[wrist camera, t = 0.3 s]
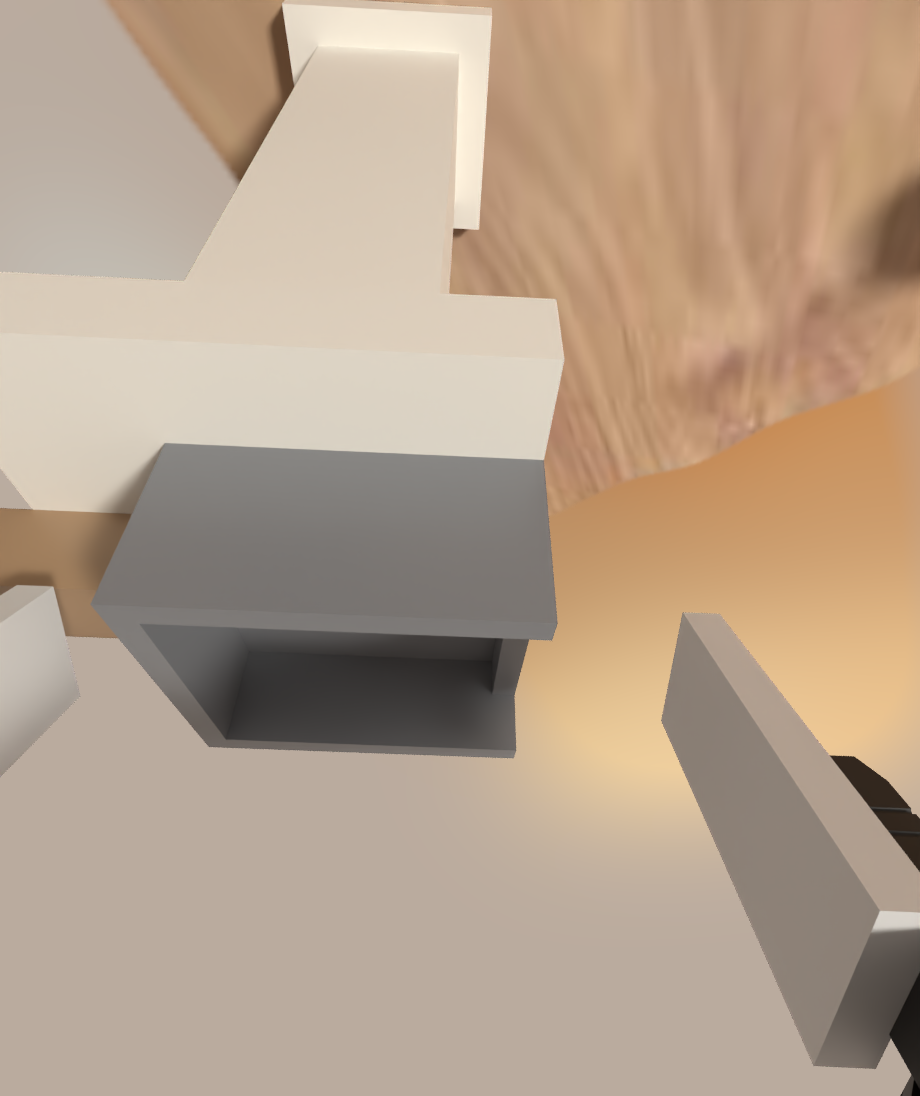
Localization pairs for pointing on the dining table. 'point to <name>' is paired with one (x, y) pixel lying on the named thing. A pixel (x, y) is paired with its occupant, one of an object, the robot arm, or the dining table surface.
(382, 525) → the brown and grey bar
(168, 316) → the stand
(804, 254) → the dining table surface
